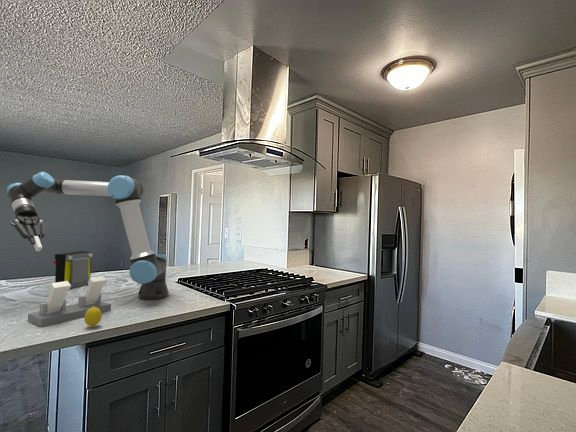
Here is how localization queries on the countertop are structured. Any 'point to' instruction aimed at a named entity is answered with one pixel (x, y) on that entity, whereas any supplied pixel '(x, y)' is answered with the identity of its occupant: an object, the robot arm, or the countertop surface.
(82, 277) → the electrical component
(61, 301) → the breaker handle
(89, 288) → the lever
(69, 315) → the block
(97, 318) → the lemon
